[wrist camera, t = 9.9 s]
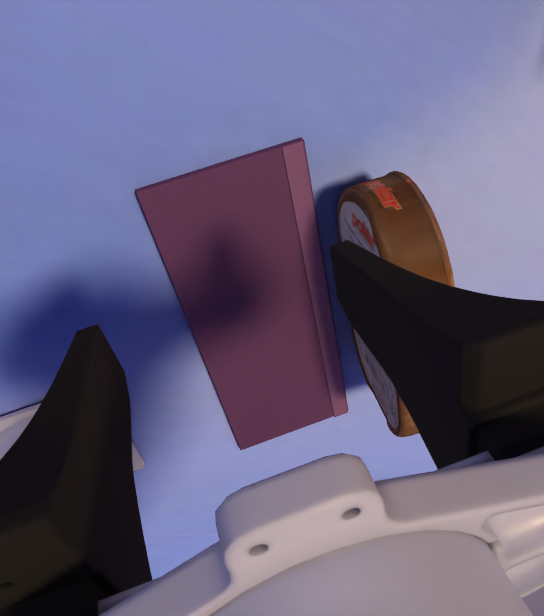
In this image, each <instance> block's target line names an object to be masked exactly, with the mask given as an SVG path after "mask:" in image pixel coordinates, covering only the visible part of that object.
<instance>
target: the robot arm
mask: <svg viewBox="0 0 544 616" xmlns="http://www.w3.org/2000/svg"><path fill="white" fill-rule="evenodd" d="M329 248H330V254H331V261H332V267H333V274H334V281H335V287H336V294H337V299H338V300H339V302H340V304H341V306H342V308H343V310H344V312H345V314H346V316H347V318H348V320H349V322H350V323H351V325H352V326H353V328H354V329H355V331H356V332H357V333H358V335H359V336H360V338H361V339H362V340H363V342H364V343H365V345H366V346H367V347H368V349H369V350H370V352H371V353H372V354H373V356H374V357H375V359H376V360H377V361H378V363H379V364H380V365H381V367H382V368H383V370H384V371H385V372H386V374H387V376H388V377H389V379H390V380H391V382H392V383H393V385H394V387H395V389H396V390H397V392H398V394H399V396H400V398H401V399H402V401H403V403H404V405H405V407H406V408H407V410H408V412H409V414H410V416H411V418H412V420H413V422H414V423H415V425H416V427H417V429H418V431H419V433H420V435H421V437H422V439H423V441H424V443H425V445H426V447H427V449H428V451H429V453H430V455H431V457H432V459H433V461H434V463H435V465H436V467H437V469H438V470H436V471H433V472H427V473H421V474H415V475H409V476H403V477H397V478H391V479H385V480H379V481H373V479H372V477H371V475H370V473H369V471H368V469H367V467H366V465H365V464H364V462H363V461H362V460H361V458H360V457H358V456H354V455H349V454H344V453H340V454H335V455H330V456H326V457H323V458H320V459H317V460H315V461H312V462H309V463H307V464H304V465H301V466H299V467H296V468H293V469H291V470H288V471H285V472H283V473H280V474H277V475H275V476H272V477H269V478H267V479H264V480H261V481H259V482H256V483H253V484H251V485H248V486H245V487H243V488H241V489H239V490H238V491H236V492H234V493H232V494H231V495H229V496H227V497H226V499H225V500H224V501H223V502H222V504H221V505H220V506H219V507H218V509H217V510H216V511H215V513H216V527H217V531H218V536H219V541H218V542H216V543H215V544H213V545H211V546H210V547H208V548H207V549H205V550H203V551H202V552H200V553H199V554H197V555H195V556H194V557H192V558H191V559H189V560H187V561H186V562H184V563H183V564H181V565H179V566H178V567H176V568H175V569H173V570H171V571H170V572H168V573H167V574H165V575H163V576H162V577H159V578H157V579H154V580H152V576H151V572H150V567H149V562H148V557H147V551H146V546H145V541H144V536H143V531H142V525H141V519H140V513H139V508H138V502H137V495H136V489H135V482H134V474H133V472H135V471H138V470H140V469H142V468H143V467H144V465H145V463H144V459H143V457H142V455H141V454H140V452H139V451H138V449H137V447H136V446H135V444H134V443H133V441H132V435H131V411H130V398H129V392H128V387H127V382H126V377H125V371H124V370H123V368H122V366H121V364H120V363H119V361H118V359H117V357H116V355H115V354H114V352H113V350H112V348H111V347H110V345H109V343H108V341H107V339H106V338H105V336H104V334H103V332H102V331H101V329H100V327H99V325H98V324H96V325H93V326H90V327H87V328H84V329H81V330H79V331H77V333H76V335H75V337H74V339H73V341H72V343H71V345H70V347H69V350H68V352H67V354H66V356H65V358H64V360H63V363H62V365H61V367H60V369H59V371H58V373H57V375H56V377H55V379H54V381H53V383H52V385H51V387H50V389H49V390H48V392H47V394H46V396H45V398H44V399H43V401H42V403H39V404H36V405H33V406H30V407H27V408H25V409H22V410H19V411H16V412H13V413H10V414H7V415H4V416H2V417H0V616H533V615H532V614H531V612H530V611H529V609H528V607H527V606H526V604H525V603H524V601H523V600H522V598H523V597H525V596H527V595H529V594H530V593H532V592H534V591H536V590H538V589H539V588H541V587H543V586H544V301H535V300H521V299H512V298H505V297H498V296H492V295H487V294H481V293H477V292H472V291H468V290H464V289H460V288H456V287H452V286H449V285H446V284H443V283H440V282H437V281H433V280H431V279H428V278H425V277H422V276H420V275H418V274H415V273H413V272H410V271H408V270H406V269H404V268H401V267H399V266H397V265H395V264H393V263H391V262H389V261H387V260H385V259H383V258H381V257H379V256H377V255H375V254H373V253H371V252H370V251H368V250H366V249H364V248H362V247H360V246H359V245H357V244H355V243H353V242H351V241H349V240H346V241H343V242H340V243H337V244H334V245H331V246H329Z"/></svg>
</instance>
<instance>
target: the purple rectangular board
mask: <svg viewBox="0 0 544 616" xmlns="http://www.w3.org/2000/svg"><path fill="white" fill-rule="evenodd" d="M135 191H136V195H137V197H138V200H139V202H140V205H141V207H142V210H143V212H144V215H145V217H146V219H147V222H148V224H149V227H150V229H151V232H152V234H153V237H154V239H155V241H156V244H157V246H158V249H159V251H160V254H161V256H162V259H163V261H164V264H165V266H166V268H167V271H168V273H169V276H170V278H171V281H172V283H173V286H174V288H175V291H176V293H177V295H178V298H179V300H180V303H181V305H182V308H183V310H184V313H185V315H186V318H187V320H188V322H189V325H190V327H191V330H192V332H193V335H194V337H195V340H196V342H197V344H198V347H199V349H200V352H201V354H202V357H203V359H204V362H205V364H206V367H207V369H208V371H209V374H210V376H211V379H212V381H213V384H214V386H215V389H216V391H217V394H218V396H219V398H220V401H221V403H222V406H223V408H224V411H225V413H226V416H227V418H228V421H229V423H230V425H231V428H232V430H233V433H234V435H235V438H236V440H237V443H238V445H239V447H240V450H243V449H246V448H248V447H251V446H254V445H256V444H259V443H262V442H265V441H267V440H270V439H273V438H275V437H278V436H281V435H284V434H286V433H289V432H292V431H294V430H297V429H300V428H303V427H305V426H308V425H311V424H313V423H316V422H319V421H322V420H324V419H327V418H330V417H332V416H334V417H336V416H339V415H342V414H345V413H347V412H348V406H347V400H346V394H345V388H344V382H343V376H342V369H341V363H340V357H339V351H338V345H337V339H336V333H335V327H334V321H333V315H332V308H331V302H330V296H329V290H328V284H327V278H326V272H325V266H324V260H323V254H322V248H321V241H320V235H319V229H318V223H317V217H316V211H315V205H314V199H313V193H312V187H311V180H310V174H309V168H308V162H307V156H306V150H305V144H304V140H303V139H302V138H298V139H295V140H292V141H289V142H285V143H282V144H279V145H276V146H273V147H270V148H266V149H263V150H260V151H257V152H254V153H250V154H247V155H244V156H241V157H238V158H235V159H231V160H228V161H225V162H222V163H219V164H215V165H212V166H209V167H206V168H203V169H199V170H196V171H193V172H190V173H187V174H184V175H180V176H177V177H174V178H171V179H168V180H164V181H161V182H158V183H155V184H152V185H149V186H145V187H142V188H139V189H136V190H135Z"/></svg>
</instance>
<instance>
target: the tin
mask: <svg viewBox="0 0 544 616" xmlns="http://www.w3.org/2000/svg"><path fill="white" fill-rule="evenodd" d="M337 216H338V230H339V238H340V242H343V241H346V240H349V241H351V242H353V243H355V244H357V245H359V246H360V247H362V248H364V249H366V250H368V251H370V252H371V253H373V254H375V255H377V256H379V257H381V258H383V259H385V260H387V261H389V262H391V263H393V264H395V265H397V266H399V267H401V268H404V269H406V270H408V271H410V272H413V273H415V274H418V275H420V276H422V277H425V278H428V279H431V280H433V281H437V282H440V283H443V284H446V285H449V286H452V287H455V286H454V280H453V273H452V268H451V264H450V260H449V256H448V251H447V249H446V245H445V241H444V238H443V235H442V232H441V230H440V227H439V224H438V222H437V220H436V218H435V215H434V213H433V211H432V209H431V207H430V205H429V203H428V202H427V200H426V198H425V197H424V195H423V194H422V192H421V190H420V189H419V188H418V186H417V185H416V184H415V183H414V182H413V181H412V180H411V179H410V178H409V177H408V176H407V175H405V174H404V173H401V172H398V171H393V172H390V173H388V174H387V175H386V176H383V177H380V178H376V179H373V180H369V181H366V182H362V183H359V184H356V185H353V186H351V187H349V188H347V189H346V190H344V192H343V193H342V194H341V196H340V199H339V203H338V214H337ZM350 325H351V323H350ZM351 330H352V335H353V340H354V344H355V348H356V352H357V356H358V359H359V362H360V365H361V369H362V371H363V374H364V377H365V380H366V382H367V384H368V386H369V388H370V389H371V391H372V392H373V394H374V395H375V397H376V399H377V401H378V403H379V406H380V408H381V410H382V412H383V414H384V416H385V418H386V420H387V425H388V427H389V429H390V430H391V432H392V433H393V434H394V435H396V436H398V437H406V436H411V435H414V434H417V433H419V431H418V429H417V427H416V425H415V423H414V422H413V420H412V418H411V416H410V414H409V412H408V410H407V408H406V407H405V405H404V403H403V401H402V399H401V398H400V396H399V394H398V392H397V390H396V389H395V387H394V385H393V383H392V382H391V380H390V379H389V377H388V376H387V374H386V372H385V371H384V370H383V368H382V367H381V365H380V364H379V363H378V361H377V360H376V359H375V357H374V356H373V354H372V353H371V352H370V350H369V349H368V347H367V346H366V345H365V343H364V342H363V340H362V339H361V338H360V336H359V335H358V333H357V332H356V331H355V329H354V328H353V326H352V325H351Z"/></svg>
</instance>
